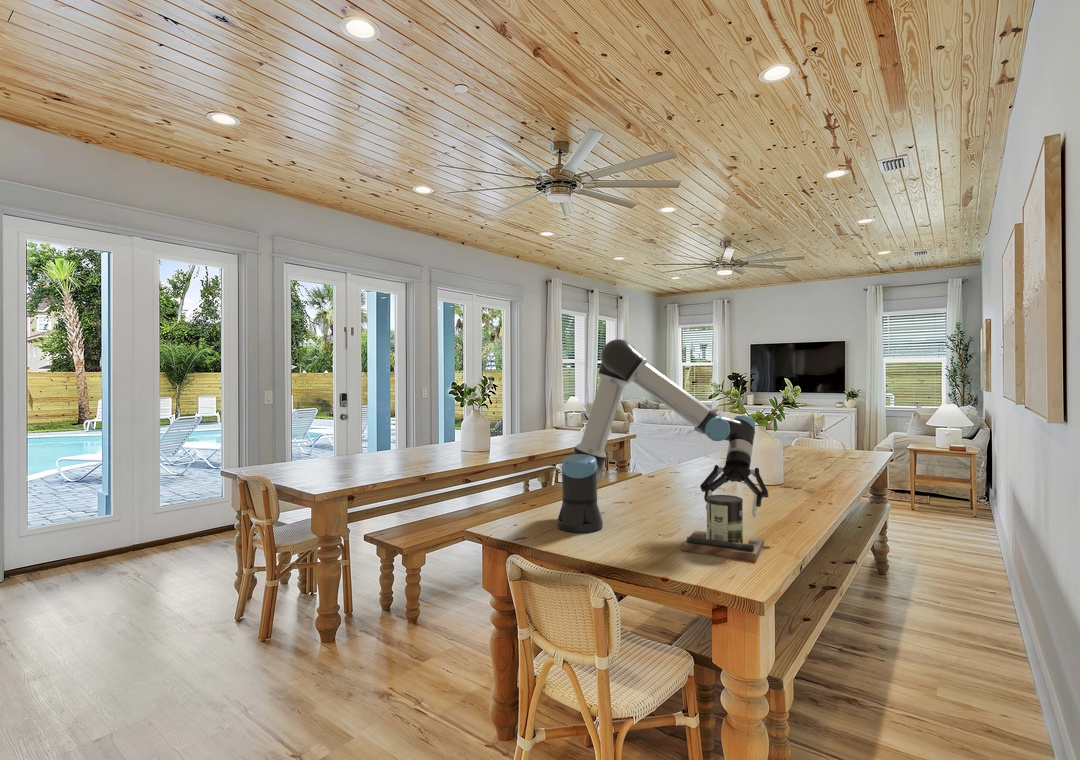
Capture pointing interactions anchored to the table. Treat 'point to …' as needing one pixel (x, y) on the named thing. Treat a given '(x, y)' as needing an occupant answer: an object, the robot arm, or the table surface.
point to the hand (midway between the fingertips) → (730, 512)
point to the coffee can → (725, 518)
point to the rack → (723, 547)
